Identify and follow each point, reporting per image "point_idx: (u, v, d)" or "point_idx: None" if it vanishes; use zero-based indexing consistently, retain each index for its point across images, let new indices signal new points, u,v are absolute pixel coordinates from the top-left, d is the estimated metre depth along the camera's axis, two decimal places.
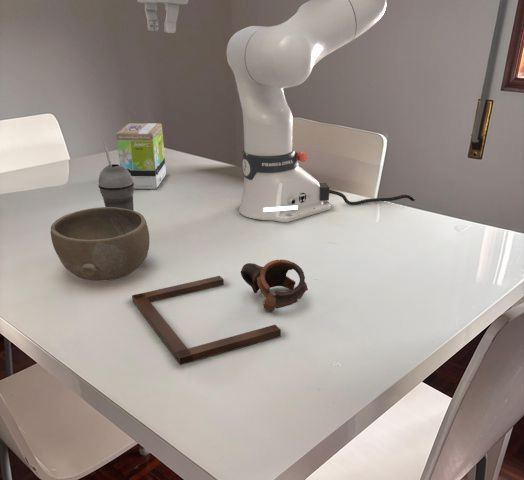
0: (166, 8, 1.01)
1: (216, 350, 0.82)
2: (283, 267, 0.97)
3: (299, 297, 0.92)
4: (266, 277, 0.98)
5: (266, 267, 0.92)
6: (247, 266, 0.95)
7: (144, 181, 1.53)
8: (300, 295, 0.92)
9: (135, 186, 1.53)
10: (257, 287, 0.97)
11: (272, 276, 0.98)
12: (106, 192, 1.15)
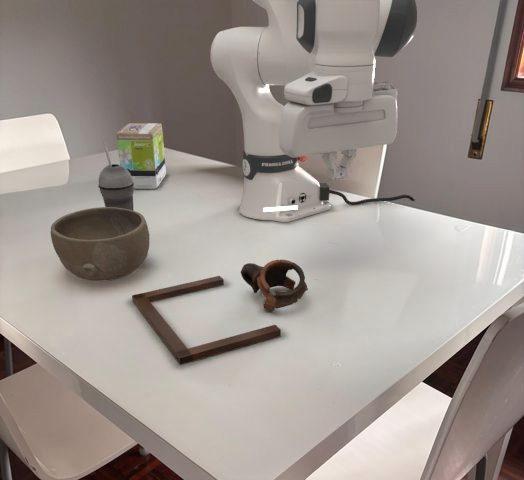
0: (352, 154, 0.90)
1: (216, 350, 0.82)
2: (283, 267, 0.97)
3: (299, 297, 0.92)
4: (266, 277, 0.98)
5: (266, 267, 0.92)
6: (247, 266, 0.95)
7: (144, 181, 1.53)
8: (300, 295, 0.92)
9: (135, 186, 1.53)
10: (257, 287, 0.97)
11: (272, 276, 0.98)
12: (106, 192, 1.15)
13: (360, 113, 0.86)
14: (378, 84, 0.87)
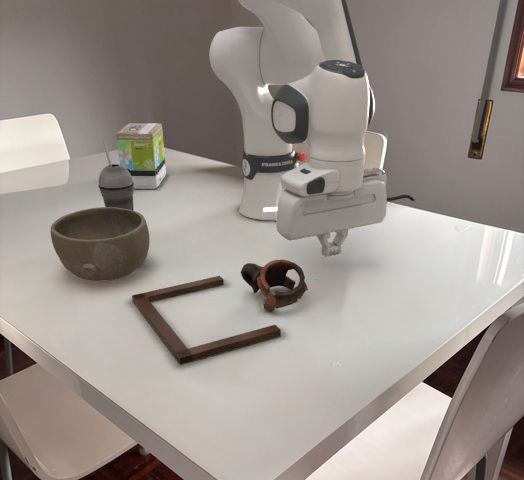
0: (344, 233, 0.96)
1: (216, 350, 0.82)
2: (283, 267, 0.97)
3: (299, 297, 0.92)
4: (266, 277, 0.98)
5: (266, 267, 0.92)
6: (247, 266, 0.95)
7: (144, 181, 1.53)
8: (300, 295, 0.92)
9: (135, 186, 1.53)
10: (257, 287, 0.97)
11: (272, 276, 0.98)
12: (106, 192, 1.15)
13: (351, 198, 0.93)
14: (369, 171, 0.93)
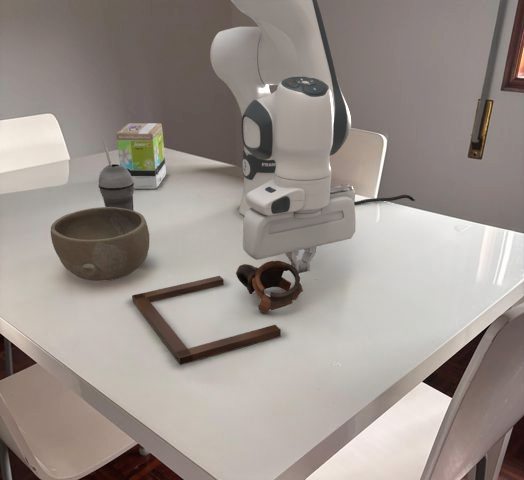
0: (312, 251, 0.95)
1: (216, 350, 0.82)
2: (278, 268, 0.96)
3: (294, 298, 0.92)
4: (262, 278, 0.97)
5: (261, 268, 0.92)
6: (243, 267, 0.94)
7: (144, 181, 1.53)
8: (295, 296, 0.92)
9: (135, 186, 1.53)
10: (253, 288, 0.97)
11: (268, 277, 0.98)
12: (106, 192, 1.15)
13: (319, 215, 0.91)
14: (336, 188, 0.92)
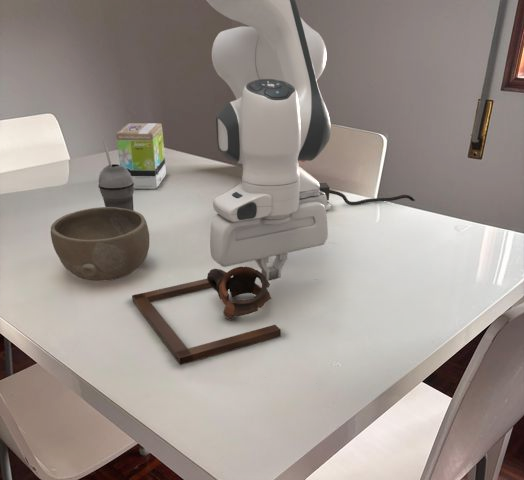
0: (283, 257, 0.92)
1: (216, 350, 0.82)
2: (250, 274, 0.94)
3: (259, 306, 0.89)
4: (234, 283, 0.96)
5: (228, 274, 0.90)
6: (212, 271, 0.93)
7: (144, 181, 1.53)
8: (261, 304, 0.89)
9: (135, 186, 1.53)
10: None
11: (240, 283, 0.96)
12: (106, 192, 1.15)
13: (289, 221, 0.89)
14: (307, 193, 0.89)
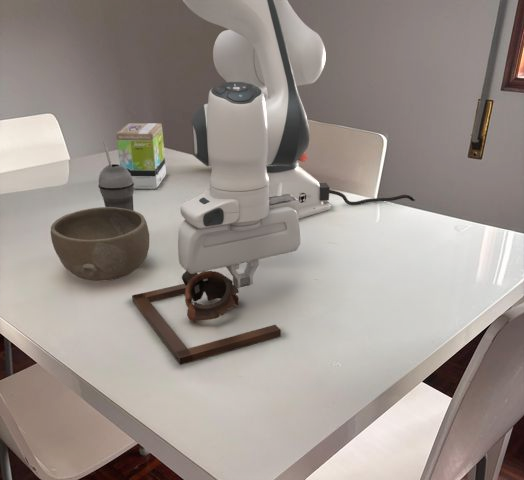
0: (254, 264, 0.90)
1: (216, 350, 0.82)
2: None
3: (220, 313, 0.88)
4: (209, 287, 0.95)
5: (196, 277, 0.89)
6: (186, 273, 0.93)
7: (144, 181, 1.53)
8: (222, 311, 0.88)
9: (135, 186, 1.53)
10: (197, 296, 0.94)
11: (216, 287, 0.95)
12: (106, 192, 1.15)
13: (259, 227, 0.87)
14: (278, 198, 0.87)
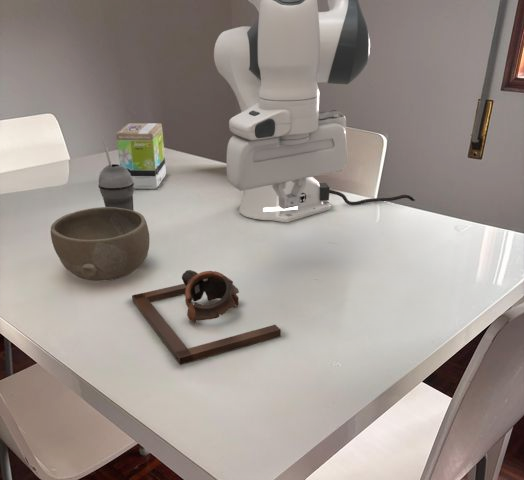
0: (302, 183, 0.89)
1: (216, 350, 0.82)
2: None
3: (220, 313, 0.88)
4: (209, 287, 0.95)
5: (196, 277, 0.89)
6: (186, 273, 0.93)
7: (144, 181, 1.53)
8: (222, 311, 0.88)
9: (135, 186, 1.53)
10: (197, 296, 0.94)
11: (216, 287, 0.95)
12: (106, 192, 1.15)
13: (307, 143, 0.86)
14: (326, 114, 0.86)
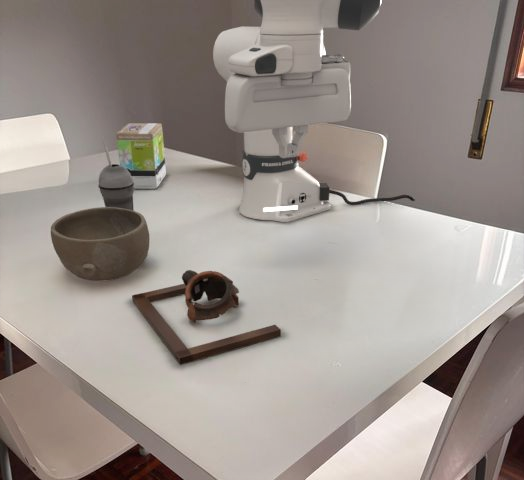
0: (303, 130, 0.86)
1: (216, 350, 0.82)
2: None
3: (221, 313, 0.88)
4: (209, 287, 0.95)
5: (196, 277, 0.89)
6: (186, 273, 0.93)
7: (144, 181, 1.53)
8: (222, 311, 0.88)
9: (135, 186, 1.53)
10: (197, 296, 0.94)
11: (216, 287, 0.95)
12: (106, 192, 1.15)
13: (310, 87, 0.82)
14: (329, 57, 0.83)
